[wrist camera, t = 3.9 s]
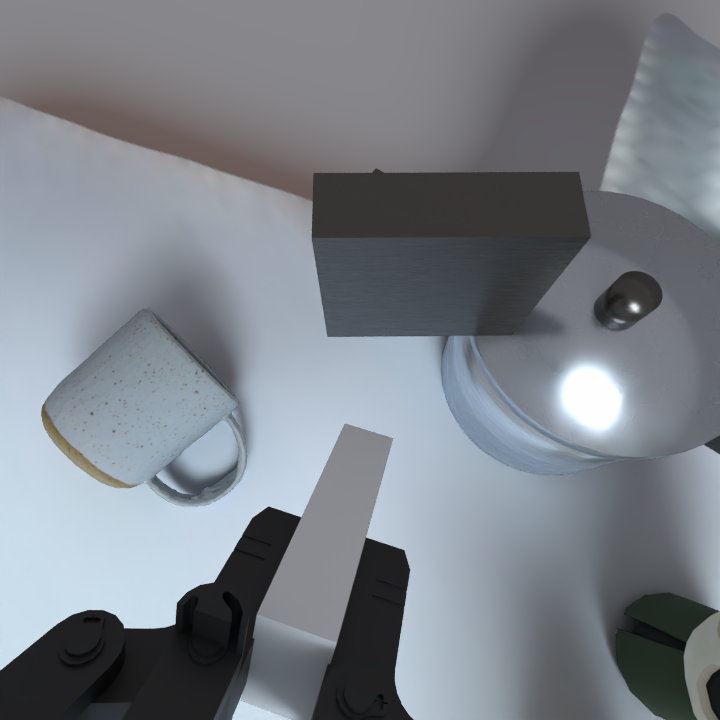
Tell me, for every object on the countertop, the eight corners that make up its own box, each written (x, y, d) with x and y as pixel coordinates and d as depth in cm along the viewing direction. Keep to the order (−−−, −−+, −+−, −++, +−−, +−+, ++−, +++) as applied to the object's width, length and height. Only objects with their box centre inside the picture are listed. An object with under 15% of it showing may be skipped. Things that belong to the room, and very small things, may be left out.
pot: (304, 344, 33) (285, 281, 24) (400, 209, 37) (413, 112, 28) (653, 554, 29) (778, 565, 20) (723, 377, 32) (854, 323, 24)
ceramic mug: (79, 419, 31) (-4, 389, 24) (178, 335, 33) (130, 283, 26) (185, 541, 29) (129, 548, 22) (284, 443, 31) (264, 419, 24)
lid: (709, 202, 26) (880, 43, 17) (784, 459, 21) (1065, 414, 13) (330, 204, 26) (317, 45, 17) (327, 463, 21) (306, 420, 13)
